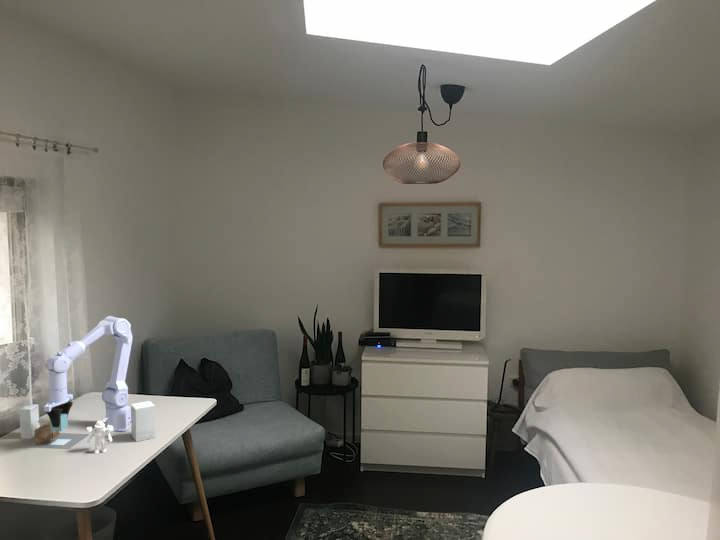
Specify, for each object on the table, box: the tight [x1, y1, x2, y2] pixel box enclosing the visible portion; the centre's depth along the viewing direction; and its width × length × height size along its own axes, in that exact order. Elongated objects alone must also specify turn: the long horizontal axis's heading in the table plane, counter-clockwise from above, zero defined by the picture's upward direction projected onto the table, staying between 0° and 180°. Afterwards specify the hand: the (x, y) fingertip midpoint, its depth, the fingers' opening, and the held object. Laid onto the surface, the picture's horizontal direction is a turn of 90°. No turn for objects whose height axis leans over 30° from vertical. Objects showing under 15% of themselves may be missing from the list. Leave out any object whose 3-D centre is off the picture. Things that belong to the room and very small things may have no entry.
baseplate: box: [26, 432, 90, 450], centre depth 211 cm, size 16×14×1 cm
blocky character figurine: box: [85, 417, 114, 454], centre depth 203 cm, size 9×4×12 cm, turn 107°
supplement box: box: [130, 400, 157, 442], centre depth 217 cm, size 7×7×13 cm
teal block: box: [49, 414, 69, 432], centre depth 209 cm, size 4×4×5 cm
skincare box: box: [18, 403, 41, 440], centre depth 215 cm, size 6×4×12 cm
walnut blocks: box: [34, 421, 60, 444], centre depth 212 cm, size 4×8×5 cm, turn 176°
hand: (59, 424), depth 209 cm, fingers closed on teal block, 4 cm apart
